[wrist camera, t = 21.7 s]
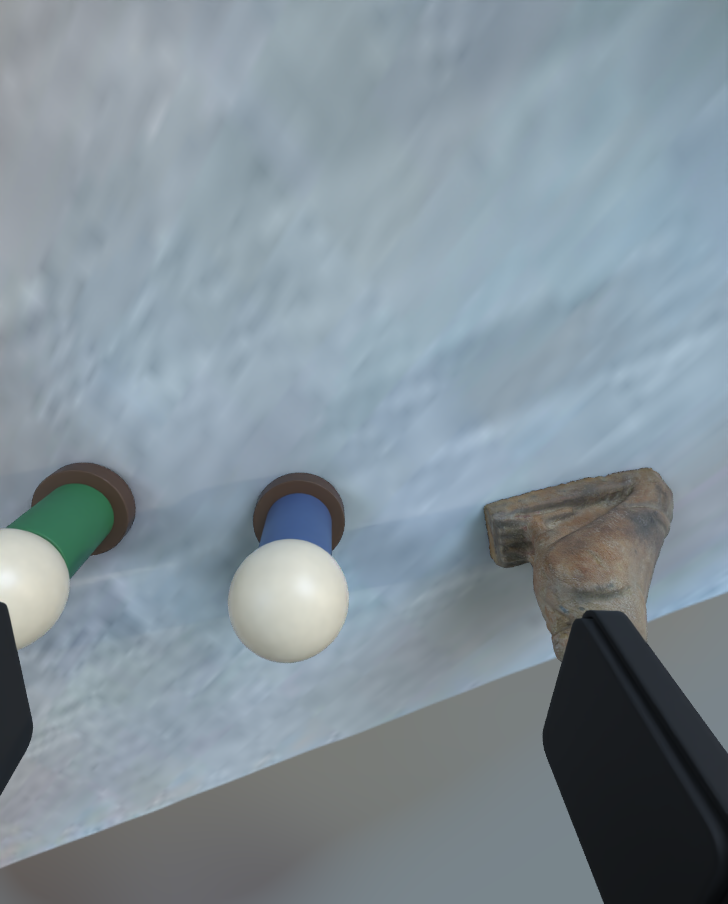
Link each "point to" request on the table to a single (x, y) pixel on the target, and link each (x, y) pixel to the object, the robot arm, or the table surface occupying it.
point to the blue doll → (292, 572)
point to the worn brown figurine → (585, 545)
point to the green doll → (59, 543)
